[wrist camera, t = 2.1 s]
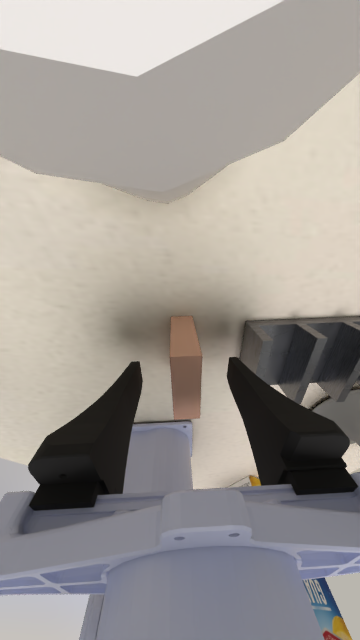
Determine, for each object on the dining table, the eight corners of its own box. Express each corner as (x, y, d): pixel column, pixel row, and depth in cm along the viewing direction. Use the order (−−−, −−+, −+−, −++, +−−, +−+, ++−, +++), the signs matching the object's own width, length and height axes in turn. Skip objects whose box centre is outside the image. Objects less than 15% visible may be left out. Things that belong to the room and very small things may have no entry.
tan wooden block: (173, 366, 18) (174, 419, 13) (170, 316, 16) (169, 356, 10) (191, 365, 18) (199, 418, 13) (192, 315, 16) (202, 355, 10)
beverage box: (258, 504, 35) (371, 857, 15) (221, 490, 31) (304, 919, 12) (286, 491, 33) (461, 883, 13) (249, 474, 29) (410, 970, 9)
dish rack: (236, 379, 19) (248, 406, 16) (245, 321, 16) (263, 340, 13) (352, 374, 20) (386, 399, 16) (384, 315, 16) (434, 333, 13)
